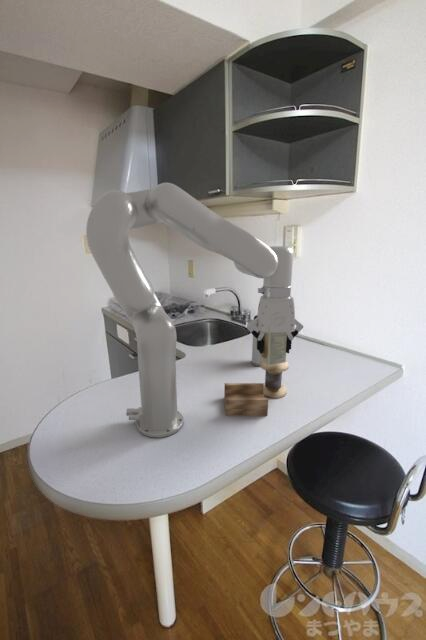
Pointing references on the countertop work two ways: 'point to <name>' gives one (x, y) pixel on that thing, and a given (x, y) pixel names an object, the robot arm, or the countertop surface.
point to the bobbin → (274, 380)
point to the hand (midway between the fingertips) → (273, 351)
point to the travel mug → (255, 349)
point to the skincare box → (274, 348)
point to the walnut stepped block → (245, 399)
